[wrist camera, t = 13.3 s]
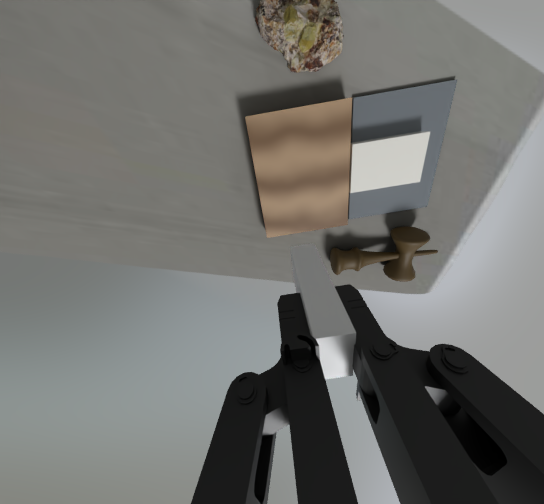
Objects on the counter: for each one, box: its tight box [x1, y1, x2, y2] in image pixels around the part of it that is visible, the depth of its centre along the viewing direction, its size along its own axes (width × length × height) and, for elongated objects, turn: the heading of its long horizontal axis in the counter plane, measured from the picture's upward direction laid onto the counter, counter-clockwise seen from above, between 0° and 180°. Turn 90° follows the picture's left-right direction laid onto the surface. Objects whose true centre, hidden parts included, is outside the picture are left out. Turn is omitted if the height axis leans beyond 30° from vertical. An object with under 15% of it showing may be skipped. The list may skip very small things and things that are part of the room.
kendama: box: [330, 226, 438, 281], centre depth 41 cm, size 6×10×20 cm
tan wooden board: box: [245, 98, 352, 238], centre depth 33 cm, size 18×14×2 cm
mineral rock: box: [255, 0, 344, 73], centre depth 25 cm, size 11×4×8 cm
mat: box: [348, 80, 457, 219], centre depth 34 cm, size 18×14×1 cm
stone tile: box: [349, 131, 430, 193], centre depth 33 cm, size 7×11×2 cm, turn 98°
